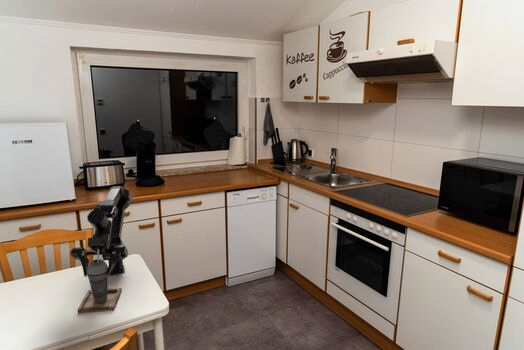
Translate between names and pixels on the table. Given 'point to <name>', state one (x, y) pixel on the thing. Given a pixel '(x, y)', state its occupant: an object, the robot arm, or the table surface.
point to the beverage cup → (98, 279)
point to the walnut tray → (107, 305)
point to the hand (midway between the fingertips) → (96, 275)
